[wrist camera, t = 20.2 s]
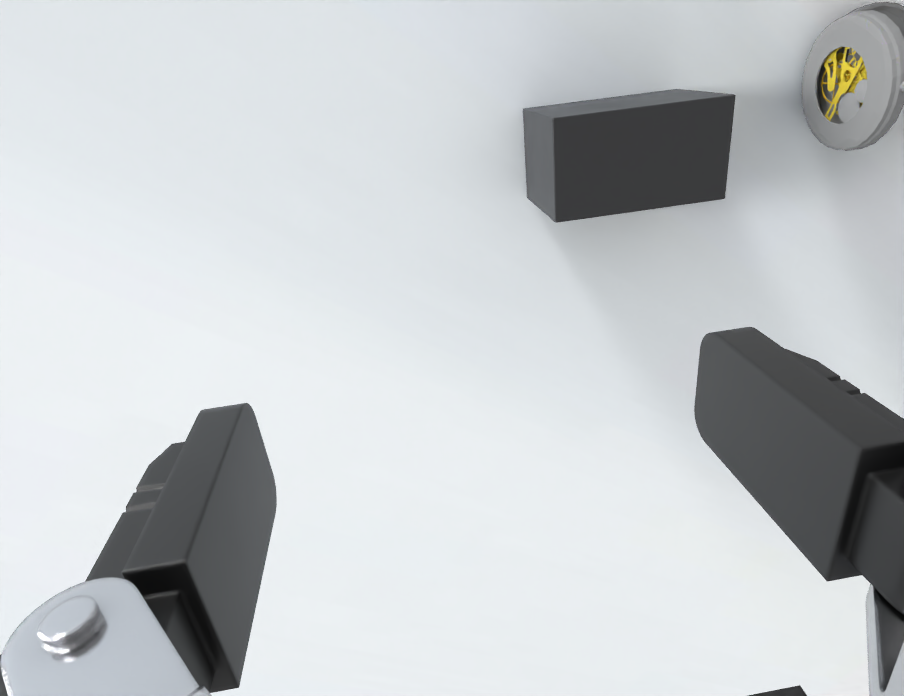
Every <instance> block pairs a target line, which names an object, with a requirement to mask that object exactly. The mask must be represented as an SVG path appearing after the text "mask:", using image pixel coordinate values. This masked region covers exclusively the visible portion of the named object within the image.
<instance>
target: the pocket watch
mask: <svg viewBox="0 0 904 696" xmlns="http://www.w3.org/2000/svg"><path fill="white" fill-rule="evenodd" d="M802 104H803V111H804V114H805V117H806V120H807V123H808V126H809V127H810V129H811V131H812V133H813V134H814V135H815V136H816V138H817V139H818V140H819V141H820V142H821V143H823V144H824V145H826V146H827V147H830V148H833V149H837V150H845V151H847V150H855V149H862V148H864V147H867V146H869V145H872V144H874V143H876V142H877V141H878V140H879V139H880V138H881V137H883V136H884V135H885V134H886V133H887V132H888V131H889V129H890V128H891V127H892V125H893V124H894V123H895V121H896V120H897V118H898V116H899V113H900V111H901V109H902V107H903V105H904V6H902V5H899V4H897V3H889V2H879V3H872V4H870V5H866V6H863V7H861V8H858V9H855V10H854V11H852V12H850V13H849V14H847V15H846V16H844V17H842V18H840V19H837V20H836V21H834V22H833V23H832V24H830V25H829V26H827V27H826V28H825V29H824V31H823V32H822V33H821V34H820V35H819V36H818V38H817V39H816V41H815V42H814V44H813V47H812V49H811V51H810V53H809V56H808V58H807V60H806V64H805V68H804V72H803V78H802Z"/></svg>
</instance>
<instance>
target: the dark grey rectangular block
mask: <svg viewBox="0 0 904 696" xmlns="http://www.w3.org/2000/svg"><path fill="white" fill-rule="evenodd" d="M734 104H735V95H734V94H723V93H712V92H702V91H691V90H680V89H674V90H666V91H658V92H650V93H643V94H635V95H627V96H619V97H611V98H603V99H596V100H588V101H580V102H572V103H564V104H556V105H549V106H541V107H533V108H525V109H523V121H524V142H525V163H526V183H527V198H528V199H529V200H530V201H531V202H533V203H534V204H535V205H536V206H537V207H538V208H540V209H541V210H542V211H543V212H544V213H545V214H546V215H548V216H549V217H550V218H551V219H552V220H553V221H554V222H556V223H557V222H564V221H571V220H578V219H585V218H592V217H599V216H606V215H613V214H620V213H628V212H635V211H642V210H649V209H656V208H663V207H670V206H677V205H684V204H691V203H698V202H705V201H713V200H720V199H724V198H725V191H726V181H727V171H728V162H729V152H730V142H731V133H732V123H733V113H734Z"/></svg>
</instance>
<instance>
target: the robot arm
mask: <svg viewBox="0 0 904 696" xmlns="http://www.w3.org/2000/svg"><path fill="white" fill-rule="evenodd" d="M694 411H695V420H696V424H697V428H698V430H699V433H700V435H701V437H702V438H703V440H704V441H705V443H706V444H707V445H708V446H709V447H710V448H711V450H712V451H713V452H714V453H715V454H716V455H717V456H718V458H719V459H720V460H721V461H722V462H723V463H724V464H725V465H726V467H727V468H728V469H729V470H730V471H731V472H732V473H733V475H734V476H735V477H736V478H737V479H738V480H739V481H740V483H741V484H742V485H743V486H744V487H745V488H746V489H747V491H748V492H749V493H750V494H751V495H752V496H753V497H754V499H755V500H756V501H757V502H758V503H759V504H760V505H761V506H762V508H763V509H764V510H765V511H766V512H767V513H768V514H769V516H770V517H771V518H772V519H773V520H774V521H775V522H776V524H777V525H778V526H779V527H780V528H781V529H782V530H783V532H784V533H785V534H786V535H787V536H788V537H789V538H790V540H791V541H792V542H793V543H794V544H795V545H796V546H797V547H798V549H799V550H800V551H801V552H802V553H803V554H804V555H805V557H806V558H807V559H808V560H809V561H810V562H811V563H812V565H813V566H814V567H815V568H816V569H817V570H818V571H819V573H820V574H821V575H822V576H823V577H824V578H825V579H826V581H832V580H837V579H843V578H848V577H854V576H859V575H863V576H864V577H865V578H866V579H867V580H868V581H869V582H870V583H871V584H870V587H869V590H868V593H867V597H866V624H867V649H868V674H869V696H904V419H903V418H901V417H900V416H898V415H897V414H895V413H894V412H892V411H891V410H889V409H888V408H886V407H885V406H883V405H882V404H880V403H879V402H877V401H876V400H874V399H873V398H872V397H870V396H869V395H867V394H866V393H862V394H861V393H860V389H858V388H857V387H855V386H854V385H852V384H851V383H849V382H848V381H846V380H841V379H840V376H839V375H837V374H836V373H834V372H833V371H831V370H830V369H828V368H827V367H825V366H824V365H822V364H821V363H819V362H818V361H816V360H814V359H811V358H808V357H806V356H803V355H800V354H798V353H795V352H792V351H790V350H787V349H784V348H783V347H781V346H780V345H778V344H777V343H775V342H774V341H773V340H771V339H770V338H768V337H767V336H765V335H764V334H762V333H761V332H760V331H758V330H757V329H755V328H752V327H745V328H739V329H732V330H726V331H719V332H713V333H708V334H706V335H705V336H704V338H703V340H702V342H701V347H700V356H699V366H698V376H697V387H696V397H695V409H694ZM136 489H137V492H136V493H133V495H132V497H131V499H130V501H129V502H128V504H127V506H126V512H124V513H122V515H121V517H120V519H119V521H118V523H117V524H116V526H115V528H114V530H113V532H112V534H111V535H110V537H109V539H108V541H107V543H106V544H105V546H104V548H103V550H102V552H101V554H100V555H99V557H98V559H97V561H96V563H95V565H94V566H93V568H92V570H91V572H90V574H89V576H88V577H87V579H86V581H85V582H83V583H80V584H78V585H75V586H73V587H70V588H68V589H66V590H64V591H63V592H61V593H59V594H57V595H55V596H54V597H52V598H51V599H49V600H47V601H46V602H45V603H43V604H42V605H41V606H39V607H38V608H37V609H35V610H34V611H33V612H32V613H31V614H30V615H29V616H28V617H26V619H25V620H24V621H23V622H22V623H21V624H20V625H19V626H18V627H17V628H16V630H15V631H14V632H13V634H12V635H11V636H10V638H9V640H8V642H7V643H6V645H5V647H4V650H3V653H2V654H1V655H0V696H211V695H210V693H212V692H218V691H223V690H228V689H234V688H239V684H240V680H241V675H242V670H243V665H244V661H245V656H246V651H247V646H248V642H249V637H250V632H251V627H252V622H253V618H254V613H255V608H256V603H257V599H258V594H259V589H260V584H261V580H262V575H263V570H264V565H265V560H266V556H267V551H268V546H269V541H270V537H271V532H272V527H273V522H274V518H275V513H276V486H275V480H274V476H273V472H272V469H271V466H270V462H269V459H268V456H267V453H266V449H265V446H264V443H263V440H262V436H261V433H260V430H259V427H258V423H257V420H256V417H255V414H254V411H253V409H252V407H251V406H250V405H249V404H248V403H244V404H237V405H231V406H224V407H217V408H211V409H204V410H202V411H200V413H199V414H198V416H197V418H196V420H195V423H194V425H193V427H192V429H191V431H190V433H189V435H188V437H187V439H186V441H185V442H181V443H175V444H172V445H171V446H169V447H168V448H167V449H166V450H165V451H164V452H163V453H162V454H161V455H160V456H158V457H157V458H156V459H155V460H154V461H153V462H152V463H151V464H150V465H149V466H148V468H147V470H146V471H145V473H144V475H143V477H142V479H141V481H140V482H139V484H138V486H137V488H136ZM749 696H807V695H806V694H805V692H804V691H803V689H802V688H801V686H795V687H790V688H784V689H779V690H774V691H769V692H764V693H759V694H754V695H749Z"/></svg>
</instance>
